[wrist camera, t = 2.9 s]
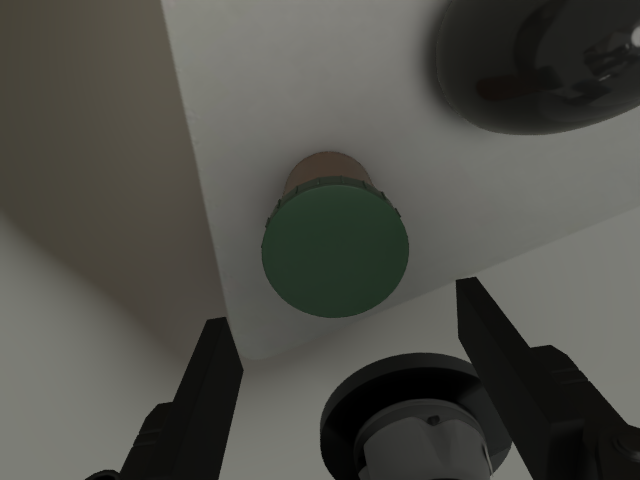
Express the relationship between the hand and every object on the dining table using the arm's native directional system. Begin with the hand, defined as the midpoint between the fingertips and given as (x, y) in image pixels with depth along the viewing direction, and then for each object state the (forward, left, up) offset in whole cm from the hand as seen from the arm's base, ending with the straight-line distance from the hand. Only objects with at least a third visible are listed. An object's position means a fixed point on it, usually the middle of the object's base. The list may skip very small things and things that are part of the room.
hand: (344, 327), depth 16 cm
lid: (0, 0, -7) cm, 7 cm away
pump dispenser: (+16, +1, -18) cm, 24 cm away
